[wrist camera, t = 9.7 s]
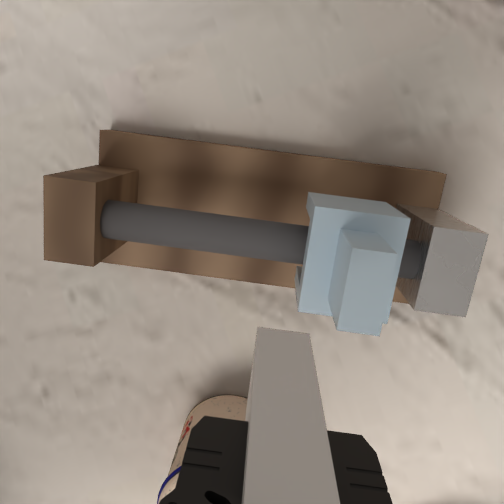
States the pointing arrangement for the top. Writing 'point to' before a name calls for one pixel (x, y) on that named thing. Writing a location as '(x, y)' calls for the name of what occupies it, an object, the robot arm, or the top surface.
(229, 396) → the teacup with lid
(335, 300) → the light blue slider block
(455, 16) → the top surface
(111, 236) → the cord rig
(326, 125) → the top surface
